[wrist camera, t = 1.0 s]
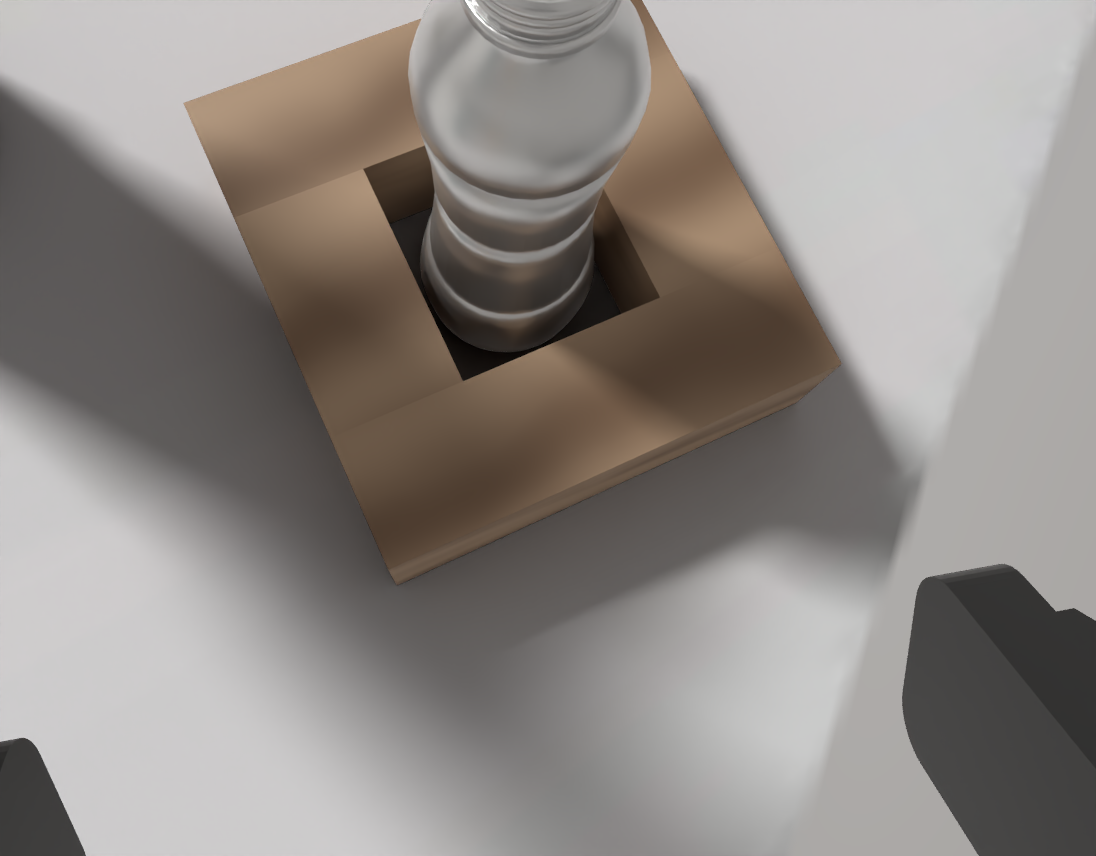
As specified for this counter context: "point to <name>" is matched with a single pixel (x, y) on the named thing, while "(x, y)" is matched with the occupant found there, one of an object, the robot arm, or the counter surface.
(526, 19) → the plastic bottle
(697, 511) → the counter surface
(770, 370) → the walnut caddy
